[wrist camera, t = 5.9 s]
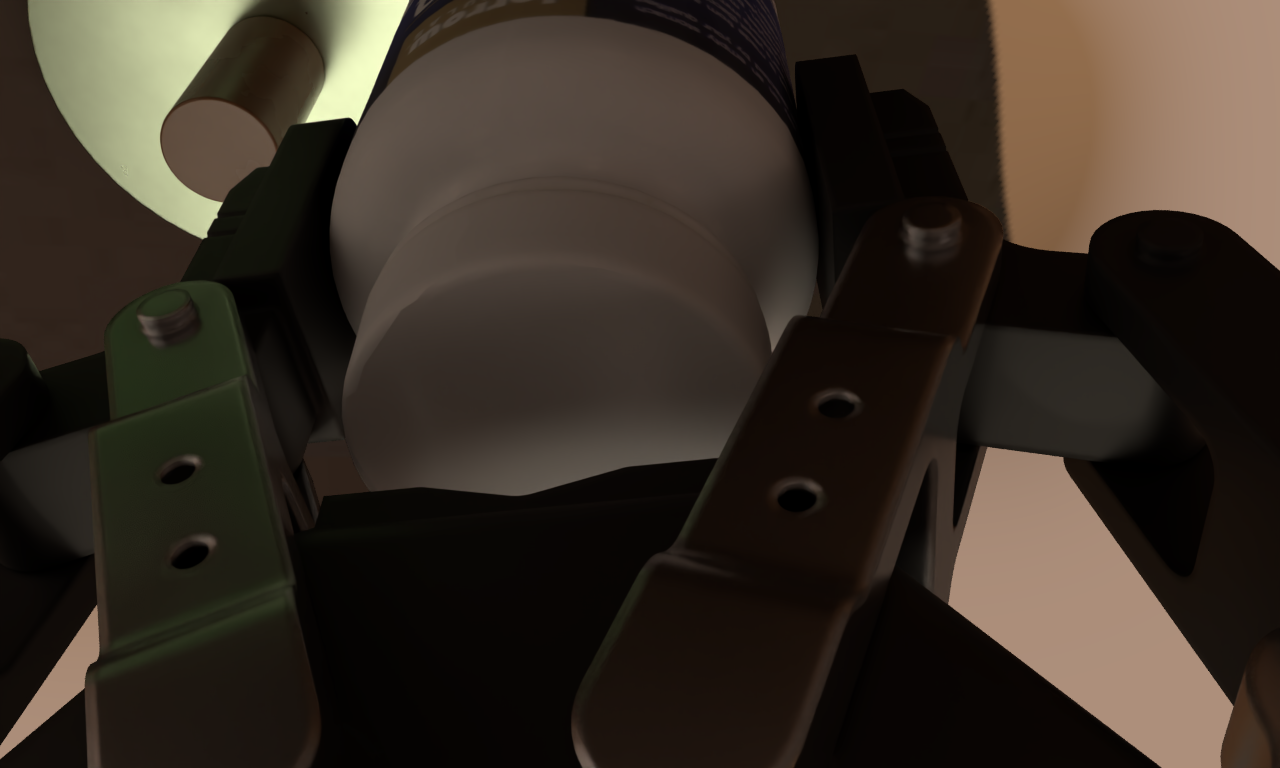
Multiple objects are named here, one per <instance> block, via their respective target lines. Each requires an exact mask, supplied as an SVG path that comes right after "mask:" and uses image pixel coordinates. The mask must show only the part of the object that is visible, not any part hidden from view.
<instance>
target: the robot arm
mask: <svg viewBox="0 0 1280 768" xmlns="http://www.w3.org/2000/svg"><path fill="white" fill-rule="evenodd" d="M795 84H796V102H797V114H798V118H799V123H800V128H801V133H802V138H803V143H804V148H805V152H806V157H807V162H808V167H809V172H810V177H811V182H812V187H813V194H814V202H815V210H816V218H817V227H818V235H819V260H818V268H817V277H816V279H817V284H818V288H819V293H820V298H821V303H822V308H823V311H822V313H821V315H820V317H812V316H805V315H795V316H794V317H792V318H791V320H790V321H789V322H788V324H787V326H786V327H785V329H784V331H783V333H782V335H781V337H780V339H779V341H778V343H777V345H776V347H775V349H774V351H773V353H772V354H771V356H770V358H769V360H768V362H767V364H766V366H765V368H764V370H763V372H762V374H761V376H760V378H759V380H758V382H757V384H756V386H755V388H754V390H753V392H752V393H751V395H750V397H749V399H748V401H747V403H746V405H745V407H744V409H743V411H742V413H741V415H740V417H739V419H738V421H737V423H736V425H735V427H734V429H733V431H732V432H731V434H730V436H729V438H728V440H727V442H726V444H725V446H724V448H723V450H722V452H721V454H720V456H719V458H711V459H701V460H691V461H680V462H670V463H660V464H650V465H639V466H629V467H624V468H620V469H617V470H613V471H610V472H606V473H603V474H599V475H596V476H592V477H589V478H585V479H581V480H578V481H574V482H571V483H567V484H564V485H560V486H557V487H553V488H550V489H546V490H543V491H539V492H535V493H532V494H527V495H521V496H509V495H498V494H488V493H478V492H468V491H458V490H448V489H437V488H427V487H414V488H404V489H394V490H384V491H373V492H363V493H353V494H343V495H332V496H324V497H323V501H322V504H321V507H320V504H319V500H318V497H317V494H316V490H315V487H314V483H313V480H312V477H311V475H310V473H309V470H308V468H307V466H306V463H305V461H304V459H303V456H304V453H305V450H306V447H307V444H308V443H316V442H326V441H336V440H345V432H344V426H343V421H342V397H343V388H344V381H345V376H346V372H347V369H348V365H349V362H350V358H351V355H352V351H353V348H354V344H355V341H356V337H357V336H356V334H355V332H354V331H353V329H352V327H351V325H350V323H349V321H348V319H347V316H346V314H345V312H344V310H343V307H342V304H341V301H340V298H339V295H338V292H337V288H336V285H335V281H334V278H333V272H332V265H331V257H330V219H331V209H332V203H333V199H334V194H335V189H336V184H337V181H338V178H339V175H340V172H341V169H342V166H343V163H344V160H345V157H346V155H347V152H348V149H349V146H350V144H351V141H352V138H353V135H354V133H355V130H356V127H357V125H356V123H355V122H354V121H353V120H352V119H351V118H340V119H332V120H325V121H317V122H309V123H301V124H293V125H291V126H290V127H289V128H288V130H287V132H286V134H285V136H284V138H283V140H282V142H281V144H280V146H279V148H278V150H277V152H276V154H275V156H274V158H273V160H272V162H271V164H270V166H267V167H259V168H256V169H255V170H253V171H252V172H251V173H250V174H249V175H247V176H246V177H245V178H244V179H243V180H242V181H240V182H239V183H238V184H237V185H236V186H234V187H233V188H232V189H231V190H230V191H229V192H228V194H227V196H226V198H225V200H224V202H223V204H222V205H221V207H220V209H219V211H218V213H217V216H218V218H216V219H214V220H213V222H212V224H211V226H210V228H209V230H208V231H207V238H204V239H203V241H202V243H201V244H200V246H199V248H198V250H197V252H196V254H195V256H194V257H193V259H192V261H191V263H190V265H189V267H188V269H187V270H186V272H185V274H184V276H183V278H182V280H181V282H179V283H175V284H171V285H167V286H164V287H161V288H158V289H156V290H153V291H151V292H149V293H146V294H144V295H142V296H141V297H139V298H137V299H135V300H133V301H132V302H131V303H129V304H128V305H126V306H125V307H124V308H122V309H121V310H120V311H119V312H118V313H117V314H116V315H115V316H114V317H113V318H112V319H111V321H110V322H109V324H108V325H107V327H106V330H105V332H104V347H105V351H103V352H100V353H97V354H95V355H92V356H88V357H85V358H82V359H78V360H75V361H72V362H68V363H65V364H62V365H59V366H55V367H52V368H49V369H45V370H42V371H38V370H37V368H36V366H35V364H34V363H33V361H32V359H31V358H30V356H29V354H28V353H27V351H26V349H25V348H24V347H23V346H22V345H21V344H20V343H18V342H16V341H13V340H9V339H1V338H0V745H1V743H2V742H3V741H4V739H5V738H6V736H7V735H8V733H9V732H10V731H11V729H12V728H13V726H14V725H15V723H16V722H17V720H18V719H19V717H20V716H21V715H22V713H23V712H24V710H25V709H26V707H27V705H28V704H29V703H30V701H31V700H32V698H33V697H34V696H35V694H36V693H37V691H38V690H39V688H40V687H41V685H42V684H43V682H44V681H45V680H46V678H47V677H48V675H49V674H50V672H51V671H52V669H53V668H54V666H55V665H56V663H57V662H58V660H59V659H60V658H61V656H62V654H63V653H64V652H65V650H66V649H67V647H68V646H69V644H70V643H71V642H72V640H73V638H74V637H75V636H76V634H77V633H78V631H79V630H80V628H81V627H82V626H83V624H84V623H85V621H86V620H87V618H88V617H89V615H90V614H91V612H92V611H93V609H94V608H95V606H96V605H97V607H98V626H99V642H100V643H99V644H100V652H99V657H98V660H97V661H96V662H94V663H92V664H90V666H89V667H88V669H87V672H86V678H85V688H84V689H83V690H82V691H81V692H80V693H78V694H77V695H76V696H75V697H74V698H73V699H71V700H70V701H69V702H68V703H67V704H65V705H64V706H63V707H62V708H61V709H59V710H58V711H57V712H56V713H55V714H54V715H52V716H51V717H50V718H49V719H48V720H46V721H45V722H44V723H43V724H42V725H41V726H39V727H38V728H37V729H36V730H35V731H33V732H32V733H31V734H30V735H29V736H27V737H26V738H25V739H24V740H23V741H22V742H20V743H19V744H18V745H17V746H16V747H14V748H13V749H12V750H11V751H10V752H8V753H7V754H6V755H5V756H4V757H2V758H1V759H0V768H1161V767H1160V766H1159V765H1157V764H1156V763H1155V762H1153V761H1152V760H1151V759H1149V758H1148V757H1147V756H1146V755H1144V754H1143V753H1142V752H1140V751H1139V750H1138V749H1136V748H1135V747H1134V746H1133V745H1131V744H1130V743H1128V742H1127V741H1126V740H1125V739H1123V738H1122V737H1121V736H1119V735H1118V734H1117V733H1115V732H1114V731H1113V730H1111V729H1110V728H1109V727H1108V726H1106V725H1105V724H1103V723H1102V722H1101V721H1100V720H1098V719H1097V718H1096V717H1094V716H1093V715H1091V714H1090V713H1089V712H1088V711H1087V710H1085V709H1084V708H1083V707H1081V706H1080V705H1079V704H1077V703H1076V702H1075V701H1074V700H1072V699H1071V698H1069V697H1068V696H1067V695H1066V694H1064V693H1063V692H1062V691H1060V690H1059V689H1058V688H1056V687H1055V686H1054V685H1052V684H1051V683H1050V682H1048V681H1047V680H1046V679H1045V678H1043V677H1042V676H1041V675H1039V674H1038V673H1037V672H1035V671H1034V670H1033V669H1032V668H1030V667H1029V666H1028V665H1026V664H1025V663H1024V662H1022V661H1021V660H1020V659H1018V658H1017V657H1016V656H1015V655H1013V654H1012V653H1011V652H1009V651H1008V650H1007V649H1005V648H1004V647H1003V646H1001V645H1000V644H999V643H998V642H996V641H995V640H994V639H992V638H991V637H990V636H988V635H987V634H986V633H984V632H983V631H982V630H981V629H979V628H978V627H976V626H975V625H974V624H973V623H971V622H970V621H969V620H968V619H966V618H965V617H964V616H962V615H961V614H960V613H958V612H957V611H956V610H954V609H953V608H952V607H950V606H949V605H948V602H949V595H950V587H951V581H952V575H953V570H954V564H955V560H956V556H957V553H958V549H959V546H960V542H961V538H962V535H963V531H964V528H965V524H966V521H967V517H968V514H969V510H970V506H971V502H972V499H973V496H974V492H975V488H976V485H977V481H978V478H979V475H980V471H981V467H982V464H983V460H984V457H985V453H986V449H987V447H992V448H999V449H1007V450H1015V451H1022V452H1029V453H1037V454H1045V455H1052V456H1059V457H1063V458H1064V464H1065V467H1066V470H1067V472H1068V473H1069V475H1070V477H1071V478H1072V479H1073V481H1074V482H1075V484H1076V485H1077V486H1078V488H1079V489H1080V491H1081V492H1082V494H1083V495H1084V496H1085V498H1086V499H1087V501H1088V502H1089V503H1090V505H1091V506H1092V508H1093V509H1094V510H1095V512H1096V513H1097V515H1098V516H1099V517H1100V519H1101V520H1102V522H1103V523H1104V524H1105V526H1106V527H1107V529H1108V530H1109V531H1110V533H1111V534H1112V536H1113V537H1114V539H1115V540H1116V541H1117V543H1118V544H1119V545H1120V547H1121V548H1122V550H1123V551H1124V552H1125V554H1126V555H1127V557H1128V558H1129V559H1130V561H1131V562H1132V564H1133V565H1134V567H1135V568H1136V569H1137V571H1138V572H1139V574H1140V575H1141V576H1142V578H1143V579H1144V581H1145V582H1146V583H1147V585H1148V586H1149V588H1150V589H1151V590H1152V592H1153V593H1154V595H1155V596H1156V598H1157V599H1158V600H1159V602H1160V603H1161V604H1162V606H1163V607H1164V609H1165V610H1166V612H1167V613H1168V614H1169V616H1170V617H1171V619H1172V620H1173V621H1174V623H1175V624H1176V626H1177V627H1178V629H1179V630H1180V631H1181V633H1182V634H1183V636H1184V637H1185V638H1186V640H1187V641H1188V643H1189V644H1190V645H1191V647H1192V648H1193V649H1194V651H1195V652H1196V654H1197V655H1198V657H1199V658H1200V659H1201V661H1202V662H1203V664H1204V665H1205V666H1206V668H1207V669H1208V671H1209V672H1210V674H1211V675H1212V676H1213V678H1214V679H1215V680H1216V682H1217V683H1218V685H1219V686H1220V688H1221V689H1222V690H1223V692H1224V693H1225V695H1226V696H1227V697H1228V699H1229V700H1230V702H1231V703H1232V704H1233V706H1234V707H1233V711H1232V714H1231V717H1230V721H1229V724H1228V727H1227V730H1226V734H1225V737H1224V740H1223V743H1222V750H1221V768H1280V271H1279V270H1278V269H1277V268H1276V267H1275V266H1274V265H1272V264H1271V263H1270V262H1269V261H1268V260H1267V259H1265V258H1264V257H1263V256H1262V255H1261V254H1260V253H1258V252H1257V251H1256V250H1255V249H1254V248H1253V247H1252V246H1250V245H1249V244H1248V243H1247V242H1246V241H1244V240H1243V239H1242V238H1241V237H1240V236H1239V235H1238V234H1236V233H1235V232H1234V231H1232V230H1231V229H1230V228H1228V227H1227V226H1224V225H1223V224H1221V223H1219V222H1217V221H1214V220H1212V219H1209V218H1207V217H1203V216H1199V215H1196V214H1191V213H1186V212H1180V211H1169V210H1151V211H1140V212H1134V213H1129V214H1126V215H1122V216H1119V217H1116V218H1114V219H1111V220H1109V221H1108V222H1106V223H1104V224H1103V225H1101V226H1100V227H1099V228H1098V229H1097V230H1096V231H1095V232H1094V234H1093V235H1092V237H1091V240H1090V244H1089V252H1088V254H1085V253H1072V252H1059V251H1047V250H1039V249H1034V248H1028V247H1024V246H1020V245H1017V244H1014V243H1011V242H1008V241H1006V240H1004V239H1003V228H1002V225H1001V223H1000V221H999V219H998V218H997V217H996V216H995V215H994V214H993V213H992V212H991V211H989V210H988V209H987V208H985V207H983V206H981V205H979V204H976V203H974V202H971V201H968V198H967V196H966V193H965V191H964V189H963V186H962V184H961V182H960V179H959V177H958V174H957V172H956V170H955V167H954V165H953V162H952V160H951V158H950V155H949V153H948V151H946V146H945V143H944V141H943V138H942V136H941V134H940V133H939V132H938V127H937V124H936V122H935V119H934V117H933V115H932V112H931V110H930V107H929V106H928V105H926V104H925V103H923V102H922V101H920V100H919V99H917V98H916V97H914V96H913V95H911V94H910V93H909V92H907V91H906V90H904V89H899V90H891V91H883V92H875V93H869V90H868V87H867V84H866V81H865V78H864V75H863V73H862V70H861V67H860V64H859V61H858V58H857V55H856V54H854V55H846V56H838V57H831V58H823V59H815V60H807V61H799V62H796V63H795Z"/></svg>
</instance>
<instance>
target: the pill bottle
mask: <svg viewBox="0 0 1280 768" xmlns="http://www.w3.org/2000/svg"><path fill="white" fill-rule="evenodd" d="M330 257H331V265H332V272H333V278H334V281H335V285H336V288H337V292H338V295H339V298H340V301H341V304H342V307H343V310H344V312H345V314H346V316H347V319H348V321H349V323H350V325H351V327H352V329H353V331H354V332H355V334H356V336H357V337H356V341H355V344H354V348H353V351H352V355H351V358H350V362H349V365H348V369H347V372H346V376H345V381H344V388H343V397H342V421H343V426H344V432H345V440H346V443H347V446H348V448H349V452H350V455H351V458H352V461H353V464H354V466H355V467H356V469H357V471H358V473H359V475H360V477H361V479H362V481H363V482H364V483H365V485H366V486H367V488H368V489H369V490H370V492H373V491H384V490H394V489H404V488H414V487H427V488H437V489H448V490H458V491H468V492H478V493H488V494H498V495H509V496H521V495H527V494H532V493H535V492H539V491H543V490H546V489H550V488H553V487H557V486H560V485H564V484H567V483H571V482H574V481H578V480H581V479H585V478H589V477H592V476H596V475H599V474H603V473H606V472H610V471H613V470H617V469H620V468H624V467H629V466H639V465H650V464H660V463H670V462H680V461H691V460H701V459H711V458H719V456H720V454H721V452H722V450H723V448H724V446H725V444H726V442H727V440H728V438H729V436H730V434H731V432H732V431H733V429H734V427H735V425H736V423H737V421H738V419H739V417H740V415H741V413H742V411H743V409H744V407H745V405H746V403H747V401H748V399H749V397H750V395H751V393H752V392H753V390H754V388H755V386H756V384H757V382H758V380H759V378H760V376H761V374H762V372H763V370H764V368H765V366H766V364H767V362H768V360H769V358H770V356H771V354H772V353H773V351H774V349H775V347H776V345H777V343H778V341H779V339H780V337H781V335H782V333H783V331H784V329H785V327H786V326H787V324H788V322H789V321H790V320H791V318H792V317H794V316H795V315H805V316H806V315H807V313H808V310H809V307H810V304H811V300H812V296H813V292H814V288H815V283H816V277H817V268H818V260H819V235H818V227H817V218H816V210H815V202H814V194H813V187H812V182H811V177H810V172H809V167H808V162H807V157H806V152H805V148H804V143H803V138H802V133H801V128H800V123H799V118H798V114H797V109H796V104H795V99H794V94H793V89H792V84H791V79H790V74H789V70H788V65H787V60H786V54H785V48H784V44H783V39H782V34H781V30H780V25H779V21H778V16H777V10H776V6H775V2H774V0H409V3H408V5H407V7H406V10H405V12H404V14H403V17H402V19H401V22H400V24H399V26H398V28H397V30H396V33H395V35H394V37H393V40H392V43H391V45H390V47H389V50H388V52H387V55H386V57H385V60H384V62H383V64H382V67H381V69H380V72H379V74H378V77H377V79H376V82H375V84H374V87H373V89H372V91H371V94H370V96H369V99H368V101H367V104H366V106H365V108H364V111H363V113H362V115H361V118H360V120H359V122H358V125H357V127H356V130H355V133H354V135H353V138H352V141H351V144H350V146H349V149H348V152H347V155H346V157H345V160H344V163H343V166H342V169H341V172H340V175H339V178H338V181H337V184H336V189H335V194H334V199H333V203H332V209H331V219H330Z"/></svg>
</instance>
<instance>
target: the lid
mask: <svg viewBox="0 0 1280 768" xmlns="http://www.w3.org/2000/svg"><path fill="white" fill-rule="evenodd" d="M408 3H409V0H27V15H28V24H29V29H30V34H31V39H32V44H33V49H34V53H35V56H36V59H37V61H38V64H39V67H40V70H41V73H42V76H43V79H44V82H45V84H46V86H47V88H48V90H49V92H50V94H51V96H52V98H53V100H54V102H55V104H56V107H57V109H58V110H59V112H60V113H61V115H62V117H63V118H64V120H65V121H66V123H67V125H68V126H69V128H70V129H71V131H72V133H73V134H74V136H75V137H76V138H77V139H78V141H79V142H80V143H81V145H82V146H83V147H84V148H85V150H86V151H87V152H88V153H89V155H90V156H91V157H92V159H93V160H94V161H95V162H96V163H97V164H98V165H99V166H100V167H101V168H102V169H103V170H104V171H105V172H106V173H107V174H108V175H109V176H110V177H111V178H112V179H113V180H114V182H115V183H117V184H118V185H119V186H120V187H121V188H123V189H124V190H125V191H126V192H127V193H128V194H130V195H131V196H132V197H133V198H134V199H136V200H137V201H138V202H139V203H141V204H142V205H143V206H145V207H146V208H148V209H149V210H151V211H152V212H154V213H155V214H157V215H158V216H159V217H161V218H162V219H164V220H165V221H167V222H169V223H171V224H173V225H174V226H176V227H178V228H180V229H182V230H183V231H185V232H187V233H189V234H191V235H193V236H195V237H197V238H200V239H202V240H203V239H204V238H207V231H208V230H209V228H210V226H211V224H212V222H213V220H214V219H216V218H218V216H217V213H218V211H219V209H220V207H221V205H222V204H223V202H224V200H225V198H226V196H227V194H228V192H229V191H230V190H231V189H232V188H233V187H234V186H236V185H237V184H238V183H239V182H240V181H242V180H243V179H244V178H245V177H246V176H247V175H249V174H250V173H251V172H252V171H253V170H255V169H256V168H259V167H267V166H270V164H271V162H272V160H273V158H274V156H275V154H276V152H277V150H278V148H279V146H280V144H281V142H282V140H283V138H284V136H285V134H286V132H287V130H288V128H289V127H290V126H291V125H293V124H301V123H309V122H317V121H325V120H332V119H340V118H351V119H352V120H353V121H354V122H355V123H356V125H358V122H359V120H360V118H361V115H362V113H363V111H364V108H365V106H366V104H367V101H368V99H369V96H370V94H371V91H372V89H373V87H374V84H375V82H376V79H377V77H378V74H379V72H380V69H381V67H382V64H383V62H384V60H385V57H386V55H387V52H388V50H389V47H390V45H391V43H392V40H393V37H394V35H395V33H396V30H397V28H398V26H399V24H400V22H401V19H402V17H403V14H404V12H405V10H406V7H407V5H408Z"/></svg>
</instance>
